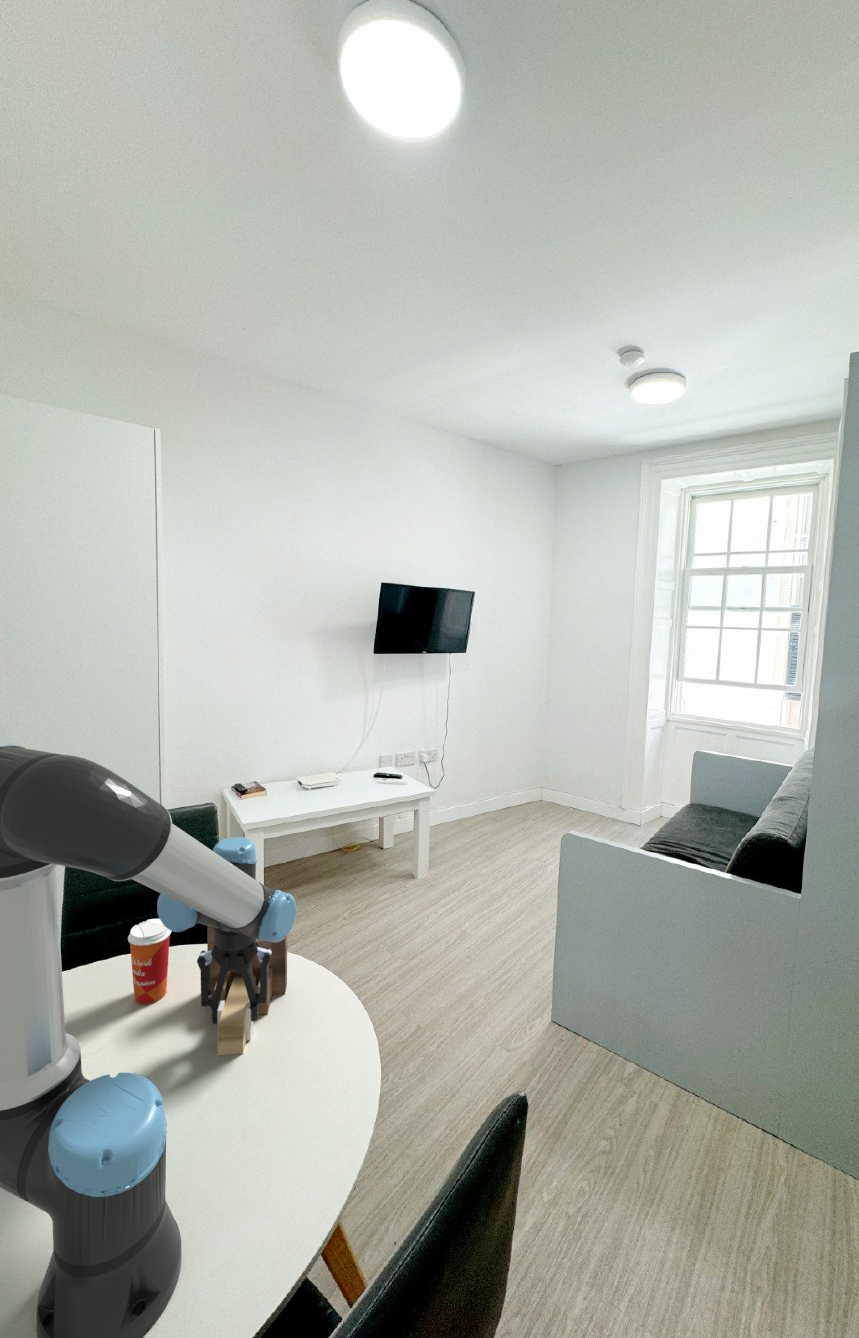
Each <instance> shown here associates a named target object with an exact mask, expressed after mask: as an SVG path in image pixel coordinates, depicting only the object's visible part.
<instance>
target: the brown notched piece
mask: <svg viewBox="0 0 859 1338" xmlns="http://www.w3.org/2000/svg"><path fill="white" fill-rule="evenodd" d="M206 927H207V929H206V930H207V933H206V935H207V944H206V945H207V947H206V949H207V950H206V952H207V951H210V950H212V949H213V946H214V927H211V926H207V925H206ZM256 942H257V943H258V945H259V947H260V948H263V949H266V948H268V947H270V948H272V953H271V957H270V960H269V989H268V996H267V1001H266V1003H260V1004H259V1014H258V1016H261V1015H262V1016H263V1015H268V1014H269V1010H270V1005H271V1001H272V997H273V996H274V995H276V996H277V995H285V994H286V990H287V986H288V935H287V936H286V937H285V938H284V939H283V940H281V941H280V942H276V943H273V942H268V941H260V940H259V939H256ZM258 958H259V957H258V955H256V956H255V957H254V958H253V960H252V961H251V967H252V971H253V975H254V976H256V986H257V990H258V993H260V967H261V963H262V962H260V961H259V959H258ZM210 964H211V995H212V996H214V993H215V989H216V985H217V981H218V977H219V972H220V968H221V966H220V965H219V964H218V963H217V962H216V960H215V959H214V958H213V957H212V960H211V963H210ZM234 977H243V976H242V975H241V972H240V970H231V971H228V972H227V976H226V980H225V984H224V988H223V992H222V996H221V999H220V1002H221V1001H225V1002H226V999H227V996H228V993H229V990H230V987H231V984H232V982H233V979H234Z"/></svg>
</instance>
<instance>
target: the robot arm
mask: <svg viewBox="0 0 859 1338" xmlns="http://www.w3.org/2000/svg"><path fill="white" fill-rule="evenodd" d="M257 861H258V860H257V854H256V845H255V843H254V841H253V840H251V839H250V838H248V837H247V838H246V837H241V836H236V837H227V838H224V839H221V840H219V841H218V842H217V843H215V845H214V847H213V849H210V847H207V846H206V845H204V844H203V843H201V842H200V841H199V840H198V839H196V838H194V837H193V836H191V835H190V834H188V833H187V832H186V831H184V830H182V828H179V827H178V826H177V825H175V824H174V823H173V820H172V816H171V814H170V811H168V809H167V808H166V807H165V806H163V805H162V804H161V803H159V802H158V801H157V800H155V799H154V798H152V797H151V796H149V795H148V794H146V793H145V792H144V791H142V790H140V789H139V788H138V787H137V786H135V785H133V784H132V783H131V782H129V781H128V780H127V779H125V778H123V777H121V776H120V775H119V774H117V773H115V772H113V771H112V770H110V769H109V768H106V767H105V766H103V765H101V764H99V763H97V762H94V760H93V761H92V760H90V759H87V758H85V757H79V756H75V755H69V754H61V753H56V752H55V753H54V752H49V751H44V750H43V751H42V750H37V749H29V748H26V747H23V746H20V745H15V744H14V745H13V744H9V745H0V1189H3V1190H4V1191H6V1192H8V1193H9V1194H12V1195H13V1196H15V1197H17V1198H19V1199H21V1200H23V1201H25V1202H27V1203H29V1204H31V1205H32V1206H33V1207H36V1208H38V1209H39V1210H41V1211H43V1212H45V1213H47V1215H48V1216H49V1217H50V1218H51V1219H50V1220H51V1221H52V1247H53V1248H52V1249H53V1250H52V1255H51V1256H50V1260H49V1262H48V1266H47V1268H46V1270H45V1271H46V1272H45V1275H44V1277H43V1280H42V1283H41V1285H40V1289H39V1291H38V1292H39V1293H38V1298H37V1304H36V1311H35V1313H36V1314H35V1315H36V1316H35V1317H36V1318H35V1319H36V1320H35V1321H36V1337H37V1338H140V1337H141V1336H142V1335H143V1334H144V1333H145V1334H146V1333H147V1332H148V1331H149V1330H148V1329H151V1328H152V1326H153V1325H154V1324H155V1322H156V1321H158V1319H159V1317H160V1316H161V1315H162V1313H163V1312H164V1310H165V1308H167V1305H168V1304H169V1302H170V1300H171V1298H172V1296H173V1295H174V1292H175V1289H176V1287H177V1285H178V1281H179V1278H180V1274H181V1270H182V1269H181V1268H182V1237H181V1236H182V1235H181V1233H180V1232H181V1231H180V1227H179V1226H178V1223H177V1221H176V1219H175V1217H174V1216H173V1212H172V1211H171V1208H170V1206H169V1205H168V1203H167V1200H166V1182H167V1181H166V1180H167V1179H166V1176H167V1175H166V1173H167V1171H166V1169H167V1167H166V1166H167V1127H168V1126H167V1125H168V1124H167V1117H166V1115H165V1108H164V1107H165V1106H164V1101H163V1096H162V1095H161V1092H160V1091H159V1089H158V1087H157V1086H156V1085H155V1084H154V1083H153V1081H151V1080H149V1079H148V1078H146V1077H145V1076H142V1075H141V1074H138V1073H131V1072H118V1073H117V1074H116V1076H114V1077H111V1074H104V1075H102V1076H99V1077H96V1078H93V1079H91V1080H90V1079H88V1078H86V1077H85V1076H84V1075H83V1070H82V1054H81V1053H82V1052H81V1046H80V1042H79V1039H77V1038H76V1036H73V1035H72V1034H70V1033H66V1017H65V1016H66V1015H65V1001H64V987H63V985H64V984H63V969H62V968H63V967H62V966H63V965H62V953H61V936H60V933H61V932H60V919H59V917H60V916H59V915H60V914H59V904H58V903H59V900H58V883H57V869H56V867H57V866H62V867H68V868H73V869H78V870H83V871H86V872H90V873H94V874H96V875H100V876H102V877H104V878H106V879H108V880H111V881H115V882H125V881H128V880H133V881H135V882H137V883H139V884H141V885H143V886H146V887H147V888H150V889H151V890H154V891H155V892H157V893H159V896H158V899H157V902H156V903H157V904H156V905H157V907H156V908H157V909H156V911H157V916H158V919H160V920H161V922H162V923H163V925H164V926H165V927H166V928H168V929H169V930H171V932H174V933H181V932H184V931H186V930H188V929H191V928H193V927H195V925H196V924H201V925H204V926H206V927H207V926H211V927H214V946H213V949H212V950H210V951H207V950H205V949H204V950H201V951H200V953H199V955H198V957H197V960H196V963H197V966H198V968H199V970H200V1005H201V1007H202V1008H206V1007H209V1008H210V1009H211V1023H212V1024H213V1025H215V1024H217V1025H218V1023H219V1020H220V1017H221V1014H222V1011H223V1008H224V1005H225V1001H221V1002H220V999H221V996H222V992H223V988H224V984H225V980H226V976H227V972H228V971H231V970H240V972H241V975H242V976H243V979H244V983H245V987H246V991H247V994H248V998H249V1001H248V1004H247V1008H246V1042H248V1041H251V1039H252V1037H253V1032H254V1022H257V1020H258V1017H259V1015H258V1014H259V1004H260V1003H266V1001H267V996H268V989H269V960H270V957H271V953H272V948H270V947H268V948H266V949H263V948H260V947H259V945H258V943H257V942H256V939H259V940H260V941H268V942H273V943H276V942H280V941H281V940H283V939H284V938H285V937H286V936H287V937H288V935H289V933H290V932H291V930H292V929H293V925H294V923H295V920H296V917H297V916H296V915H297V903H296V899H295V897H294V895H292V894H291V893H288V892H284V891H282V890H280V889H272V888H270V887H267V886H266V885H264V884H263V883H261V882H260V881H258V880H257V879H256V876H257V875H256V874H257V873H256V871H257ZM256 955H258V957H259V958H258V959H259V961H260V962H262V963H261V967H260V993H258V990H257V986H256V982H255V978H254V975H253V971H252V967H251V961H252V960H253V958H254V957H255V956H256ZM212 957H213V958H214V959H215V960H216V962H217V963H218V964H219V965H220V966H221V968H220V972H219V977H218V981H217V985H216V989H215V993H214V996H212V995H211V964H210V963H211V960H212ZM147 1330H148V1331H147ZM146 1331H147V1332H146ZM145 1334H144V1335H145ZM144 1335H143V1336H144ZM143 1336H142V1337H143ZM142 1337H141V1338H142Z"/></svg>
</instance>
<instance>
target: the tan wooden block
mask: <svg viewBox="0 0 859 1338" xmlns="http://www.w3.org/2000/svg"><path fill="white" fill-rule="evenodd" d="M254 978H255V982H256V976H254ZM248 1001H249V998H248V994H247V991H246V987H245V983H244V979H243V977H234V979H233V982H232V984H231V987H230V990H229V993H228V996H227V999H226V1002H225V1005H224V1008H223V1011H222V1014H221V1017H220V1020H219V1023H218V1024H217V1056H225V1055H229V1056H230V1055H240V1054H242V1055H243V1054H244V1051H245V1047H246V1043H247V1041H246V1008H247V1004H248Z"/></svg>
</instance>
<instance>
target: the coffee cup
mask: <svg viewBox="0 0 859 1338" xmlns="http://www.w3.org/2000/svg"><path fill="white" fill-rule="evenodd" d="M171 933H172V931H171V930H169V929H168V928H166V927H165V926H164V925H163V923H162V922H161V920H160V918H151V919H149V918H148V919H147V920H145V921H142V922H140V923H138V924H135V925H134V926H133V927H131V929H130V932H129V935H128V936H127V940H128V943H129V945H130V946H129V947H130V958H131V961H130V962H131V969H132V970H131V972H132V985H133V994H134V1000H135V1001H134V1002H135V1003H137V1004H140V1005H151V1004H154V1003H156V1002H157V1003H158V1001H161V1000H162V999H163V998H164V997H165V995H166V993H167V986H168V973H169V972H168V971H169V957H170V956H169V953H170V939H171V938H170V937H171V936H170V935H171Z"/></svg>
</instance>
